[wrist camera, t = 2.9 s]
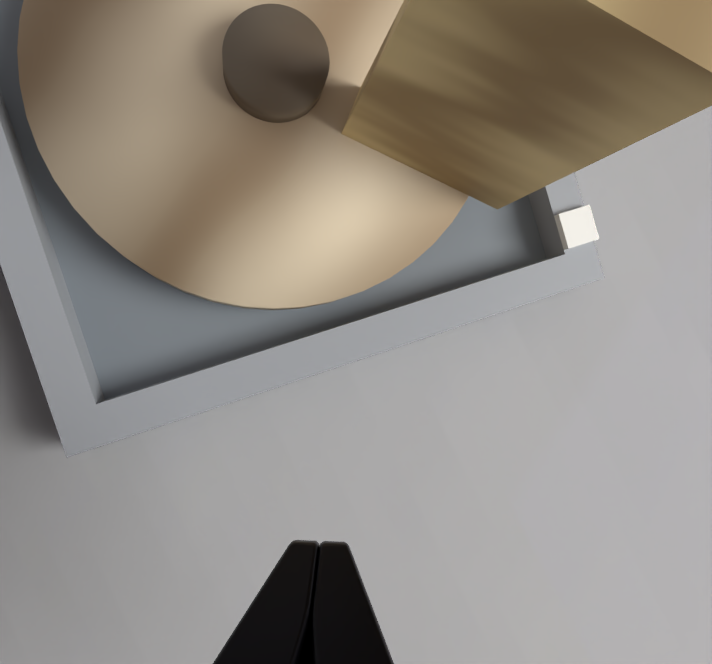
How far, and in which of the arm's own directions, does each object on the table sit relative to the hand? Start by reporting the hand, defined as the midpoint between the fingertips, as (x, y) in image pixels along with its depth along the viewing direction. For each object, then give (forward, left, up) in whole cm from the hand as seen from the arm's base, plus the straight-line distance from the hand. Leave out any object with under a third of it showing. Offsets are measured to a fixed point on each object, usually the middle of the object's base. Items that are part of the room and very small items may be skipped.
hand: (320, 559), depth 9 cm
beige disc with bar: (+11, -3, -11) cm, 15 cm away
